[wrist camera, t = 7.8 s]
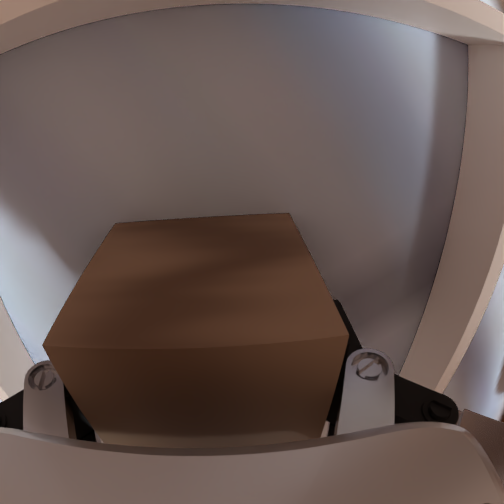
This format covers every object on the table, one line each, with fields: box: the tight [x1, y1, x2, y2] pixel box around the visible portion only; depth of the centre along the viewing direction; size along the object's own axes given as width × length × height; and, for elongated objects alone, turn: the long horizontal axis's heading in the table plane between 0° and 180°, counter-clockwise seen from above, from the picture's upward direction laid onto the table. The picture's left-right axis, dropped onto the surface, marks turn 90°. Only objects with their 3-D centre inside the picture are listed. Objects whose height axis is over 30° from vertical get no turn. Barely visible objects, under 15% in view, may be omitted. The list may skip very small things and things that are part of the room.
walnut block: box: [42, 213, 349, 448], centre depth 10 cm, size 6×6×6 cm
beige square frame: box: [0, 0, 504, 443], centre depth 11 cm, size 22×22×3 cm
